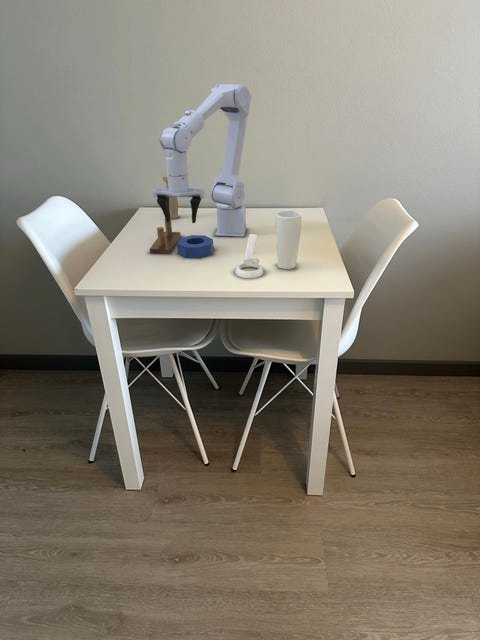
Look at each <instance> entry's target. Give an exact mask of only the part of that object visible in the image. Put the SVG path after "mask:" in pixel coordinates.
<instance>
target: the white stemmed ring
mask: <svg viewBox="0 0 480 640" xmlns="http://www.w3.org/2000/svg"><path fill="white" fill-rule="evenodd" d="M258 237H259V236H258V235H257V234H256V233H255V234H254V233H250V234H249V235H248V238H247V244H246V248H245V253H244V257H243V260H242V261H243V262H242V263H239V264H238V265H237V266H236V268H235V271H234V272H235V275H236V276H237V277H240V278H244V279H256V278H259V277H262V275H264V269H263V267H262V266H261V265H260V259H259V257H258V256H255V251H256V247H257V242H258ZM244 268H254V269H256V270H243V269H244Z"/></svg>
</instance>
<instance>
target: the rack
mask: <svg viewBox="0 0 480 640" xmlns="http://www.w3.org/2000/svg"><path fill="white" fill-rule="evenodd" d="M164 228H165V229H164ZM156 234H157V238H156V240H155V241H154V242H153V243H152V245H151V246H150V248H149V254H160V255H170V254H171V253H172V251H173V250H174V248H175V246H177V243H178V241H179V240H180V238H182V233H181V231H173V225H172V218H170V221H169V222H166V218H165V217H164V227H163V226H158V227H156Z"/></svg>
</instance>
